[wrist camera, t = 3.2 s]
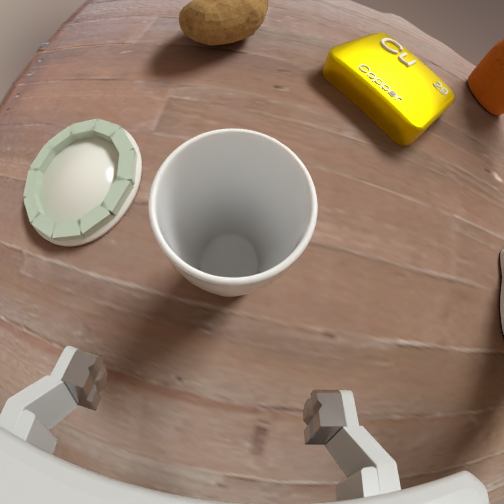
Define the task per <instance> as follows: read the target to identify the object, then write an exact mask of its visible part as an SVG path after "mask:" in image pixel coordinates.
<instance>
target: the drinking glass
mask: <svg viewBox="0 0 504 504" xmlns="http://www.w3.org/2000/svg"><path fill="white" fill-rule="evenodd" d="M148 213H149V221H150V225H151V229H152V232H153V234H154V237H155V239H156V241H157V243H158V245H159V246H160V248H161V249H162V251H163V252H164V254H165V255H166V257H167V259H168V260H169V261H170V263H171V264H172V265H173V266H174V268H175V269H176V270H177V271H178V272H179V273H180V274H181V275H182V276H183V277H184V278H186V279H187V280H188V281H189V282H191V283H192V284H194V285H195V286H197V287H198V288H200V289H202V290H204V291H207V292H209V293H213V294H216V295H219V296H223V297H236V296H241V295H246V294H250V293H253V292H256V291H258V290H260V289H263V288H264V287H266V286H268V285H270V284H271V283H272V282H274V281H275V280H277V279H278V278H279V277H280V276H281V275H283V274H284V273H285V272H286V271H287V270H288V269H289V268H290V267H291V265H292V264H293V263H294V262H295V261H296V260H297V258H298V257H299V256H300V255H301V254H302V252H303V251H304V249H305V248H306V246H307V245H308V243H309V241H310V239H311V237H312V234H313V231H314V228H315V224H316V219H317V196H316V191H315V187H314V184H313V181H312V179H311V176H310V174H309V172H308V171H307V169H306V167H305V166H304V164H303V163H302V162H301V160H300V159H299V158H298V157H297V156H296V155H295V154H294V153H293V152H292V151H291V150H290V149H289V148H288V147H286V146H285V145H284V144H282V143H281V142H279V141H277V140H275V139H274V138H272V137H269V136H267V135H265V134H262V133H259V132H255V131H251V130H245V129H220V130H214V131H210V132H206V133H203V134H200V135H198V136H196V137H194V138H192V139H190V140H188V141H186V142H185V143H183V144H182V145H180V146H179V147H178V148H176V149H175V150H174V151H173V152H172V153H171V154H170V155H169V156H168V157H167V158H166V160H165V161H164V162H163V163H162V165H161V166H160V168H159V170H158V171H157V173H156V175H155V178H154V180H153V183H152V186H151V189H150V194H149V202H148Z"/></svg>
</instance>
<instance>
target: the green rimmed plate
mask: <svg viewBox="0 0 504 504" xmlns="http://www.w3.org/2000/svg"><path fill="white" fill-rule="evenodd" d="M30 168H31V170H29V171H28V176H27V180H26V185H25V190H24V195H23V197H24V199H23V200H24V203H25V207H26V211H27V214H28V217H29V221H30V223H32V225H33V227H34V228H35V230H36V231H37V232H38V233H39V234H40V235H41V236H42V237H43V238H44V239H46V240H48V241H50V242H51V243H54V244H56V245H59V246H66V247H74V246H80V245H84V244H87V243H90V242H92V241H94V240H96V239H98V238H100V237H102V236H103V235H105V234H106V233H107V232H109V231H110V230H111V229H112V228H113V227H114V226H115V225H116V224H118V223H119V222H120V220H121V219H122V218H123V217H124V215H125V214H126V213H127V211H128V210H129V208H130V207H131V205H132V203H133V201H134V199H135V198H136V195H137V192H138V190H139V187H140V183H141V178H142V158H141V154H140V150H139V148H138V146H137V144H136V142H135V140H134V139H133V137H132V136H131V135H130V134H129V133H128V132H127V131H126V130H124V129H123V128H121V126H119V125H116V124H113V123H110V122H107V121H104V120H101V119H99V120H98V119H93V120H89V121H84V122H80V123H76V124H72V127H71V126H68V127H67V128H66V129H64V130H63V131H61V132H60V133H59V134H57V135H56V136H54V137H53V138H52V139H50V140H49V141H48V144H45V145H44V147H43V148H42V150H41V151H40V153H39V154H38V156H37V157H36V159H35V160H34V162H33V163H32V165H31V167H30Z"/></svg>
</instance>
